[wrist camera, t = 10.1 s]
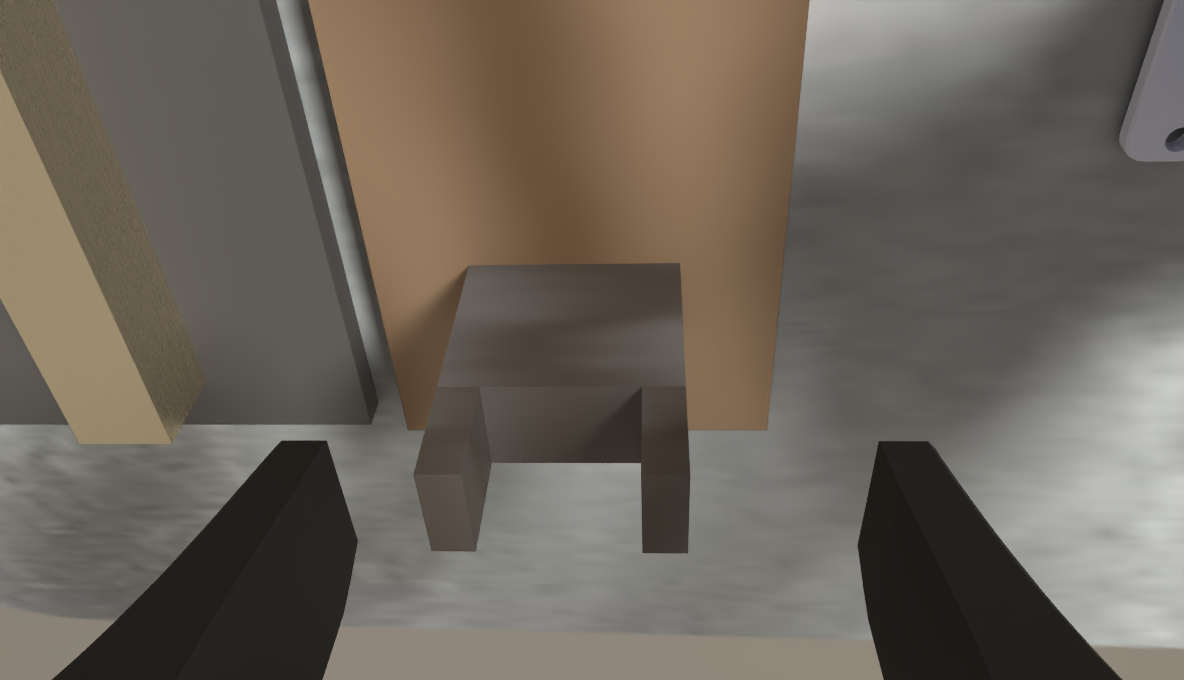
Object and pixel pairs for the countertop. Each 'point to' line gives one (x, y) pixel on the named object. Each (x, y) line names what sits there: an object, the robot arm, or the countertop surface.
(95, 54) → the mat
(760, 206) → the rack
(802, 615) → the countertop surface
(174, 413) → the rail
